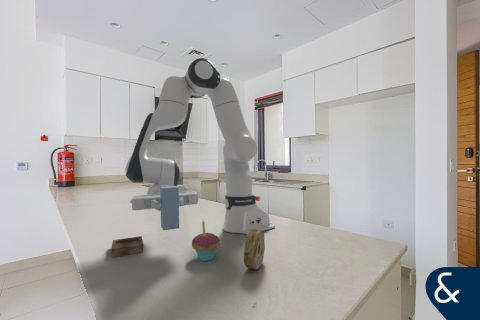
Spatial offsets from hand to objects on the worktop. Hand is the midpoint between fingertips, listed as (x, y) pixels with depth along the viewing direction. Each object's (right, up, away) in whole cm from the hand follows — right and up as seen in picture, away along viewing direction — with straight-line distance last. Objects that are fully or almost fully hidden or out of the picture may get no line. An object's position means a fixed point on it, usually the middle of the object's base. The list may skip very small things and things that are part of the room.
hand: (170, 204), depth 69 cm
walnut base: (-16, -17, +8) cm, 25 cm away
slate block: (0, -7, +1) cm, 7 cm away
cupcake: (+10, -17, +2) cm, 20 cm away
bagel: (+25, -16, -5) cm, 30 cm away
